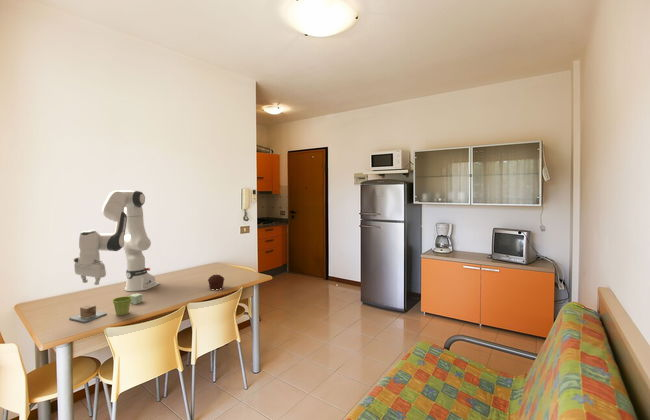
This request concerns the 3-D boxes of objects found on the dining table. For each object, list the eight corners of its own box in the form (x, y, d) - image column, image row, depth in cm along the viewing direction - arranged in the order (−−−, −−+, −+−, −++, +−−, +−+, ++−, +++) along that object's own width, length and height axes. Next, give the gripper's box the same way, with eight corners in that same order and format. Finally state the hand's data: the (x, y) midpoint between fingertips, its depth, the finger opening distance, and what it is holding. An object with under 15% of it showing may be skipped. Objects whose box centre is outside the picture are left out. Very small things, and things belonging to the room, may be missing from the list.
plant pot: (118, 310, 183) (118, 296, 182) (135, 310, 183) (135, 296, 183) (108, 317, 173) (108, 301, 173) (126, 316, 174) (126, 301, 174)
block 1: (89, 312, 176) (89, 304, 175) (96, 314, 174) (95, 305, 174) (80, 316, 171) (80, 307, 171) (86, 317, 169) (86, 308, 169)
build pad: (92, 311, 180) (92, 309, 180) (106, 314, 176) (106, 312, 176) (69, 319, 169) (69, 317, 169) (84, 323, 165) (84, 321, 165)
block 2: (136, 300, 199) (136, 293, 199) (142, 301, 197) (142, 294, 197) (129, 303, 194) (129, 295, 194) (135, 304, 193) (135, 296, 192)
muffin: (227, 287, 229) (227, 274, 228) (216, 292, 219) (216, 278, 218) (215, 285, 234) (215, 272, 233) (204, 289, 224) (204, 275, 223)
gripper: (108, 259, 171) (109, 284, 173) (83, 256, 178) (84, 279, 179) (97, 262, 166) (98, 287, 167) (71, 258, 172) (72, 283, 173)
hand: (90, 283), depth 173 cm, fingers open, 8 cm apart
